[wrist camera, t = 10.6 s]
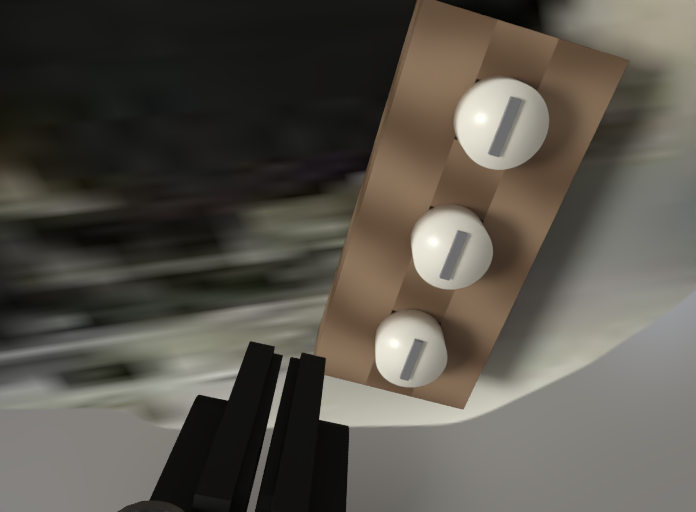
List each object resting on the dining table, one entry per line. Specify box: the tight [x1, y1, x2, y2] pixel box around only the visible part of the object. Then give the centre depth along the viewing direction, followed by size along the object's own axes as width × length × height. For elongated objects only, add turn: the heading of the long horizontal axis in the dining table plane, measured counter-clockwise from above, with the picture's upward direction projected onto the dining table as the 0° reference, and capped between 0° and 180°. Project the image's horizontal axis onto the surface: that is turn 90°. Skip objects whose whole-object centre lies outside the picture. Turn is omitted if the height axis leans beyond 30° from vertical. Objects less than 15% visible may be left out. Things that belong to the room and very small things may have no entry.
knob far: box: [375, 309, 447, 387], centre depth 38 cm, size 5×5×7 cm
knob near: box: [453, 76, 549, 170], centre depth 32 cm, size 5×5×7 cm
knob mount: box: [314, 0, 629, 409], centre depth 37 cm, size 26×12×5 cm, turn 165°
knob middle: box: [411, 204, 493, 290], centre depth 35 cm, size 5×5×7 cm
